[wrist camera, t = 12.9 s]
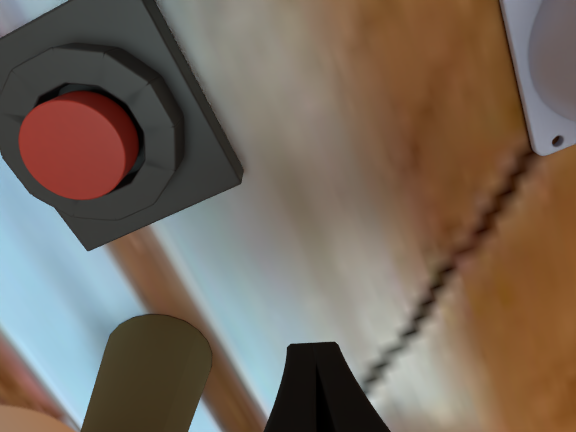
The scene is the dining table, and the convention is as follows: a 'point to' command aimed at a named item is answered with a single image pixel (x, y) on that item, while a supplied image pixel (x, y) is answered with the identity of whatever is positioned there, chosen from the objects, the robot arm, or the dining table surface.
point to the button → (79, 144)
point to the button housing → (127, 94)
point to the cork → (149, 377)
